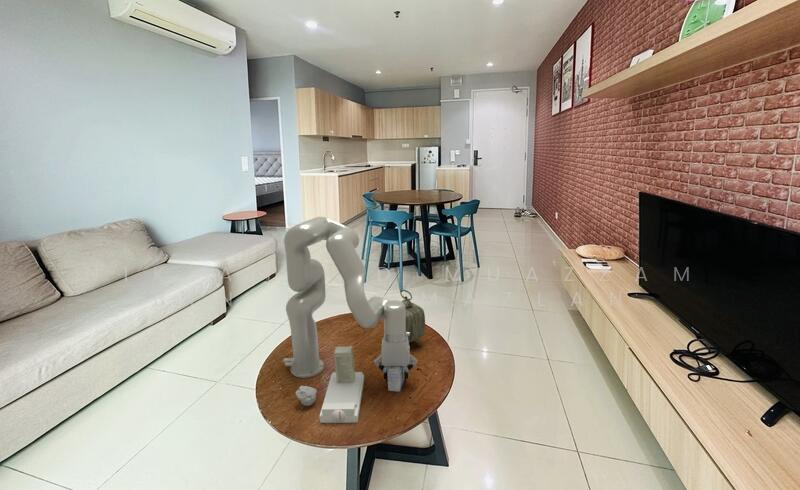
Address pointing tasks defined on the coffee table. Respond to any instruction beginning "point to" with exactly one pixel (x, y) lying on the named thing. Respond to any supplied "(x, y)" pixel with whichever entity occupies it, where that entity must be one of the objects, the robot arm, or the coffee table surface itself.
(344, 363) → the skincare box
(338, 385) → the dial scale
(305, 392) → the grey lumpy chunk
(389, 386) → the medicine box
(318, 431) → the coffee table surface
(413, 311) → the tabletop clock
